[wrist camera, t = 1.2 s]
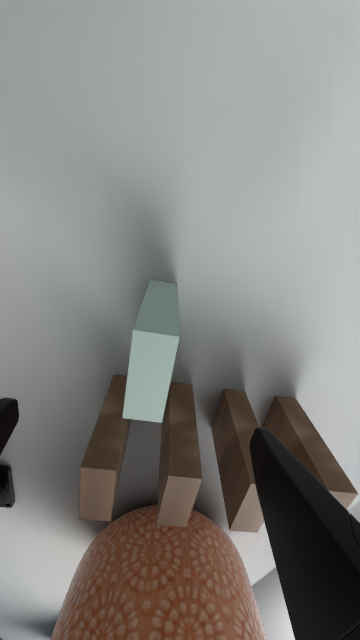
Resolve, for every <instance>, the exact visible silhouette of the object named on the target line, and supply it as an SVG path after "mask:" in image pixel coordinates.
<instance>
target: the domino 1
mask: <svg viewBox="0 0 360 640" xmlns="http://www.w3.org/2000/svg"><path fill="white" fill-rule="evenodd" d="M126 384H127V376H121V375H114V376H113V379H112V381H111V384H110V387H109V390H108V393H107V395H106V398H105V401H104V404H103V406H102V409H101V412H100V415H99V417H98V420H97V423H96V426H95V428H94V431H93V434H92V437H91V440H90V442H89V445H88V448H87V451H86V453H85V456H84V459H83V462H82V464H81V467H80V499H79V519H84V520H97V521H111V516H112V512H113V507H114V502H115V497H116V492H117V487H118V482H119V477H120V472H121V467H122V462H123V457H124V452H125V447H126V442H127V437H128V432H129V427H130V422H131V419H125V418H122V417H123V409H124V400H125V392H126Z"/></svg>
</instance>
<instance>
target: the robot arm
mask: <svg viewBox="0 0 360 640" xmlns="http://www.w3.org/2000/svg"><path fill="white" fill-rule="evenodd" d="M18 419H19V410H18V402H17V400H16V399H14V398H2V399H0V455H1V453H2V451H3V449H4V447H5V445H6V443H7V441H8V439H9V438H10V436H11V434H12V432H13V430H14V428H15V426H16V424H17V422H18ZM249 448H250V454H251V461H252V467H253V473H254V479H255V485H256V490H257V494H258V498H259V502H260V506H261V510H262V514H263V518H264V522H265V525H266V529H267V533H268V537H269V541H270V545H271V548H272V552H273V556H274V560H275V564H276V568H277V571H278V575H279V579H280V583H281V586H282V591H283V594H284V598H285V602H286V606H287V609H288V614H289V617H290V621H291V625H292V629H293V633H294V637H295V640H360V523H359V522H358V521H357V520H356V519H355V518H354V517H353V516H352V515H351V514H349V512H348V511H347V509H346V508H345V507H344V506H343V505H342V504H341V503H340V502H339V501H338V500H337V499H336V498H335V497H334V496H333V495H332V494H331V493H330V492H329V491H328V490H327V489H326V488H325V487H324V486H323V485H322V484H321V483H320V482H319V481H318V480H317V479H316V478H315V477H314V476H313V475H312V474H311V473H310V472H309V471H308V470H307V469H306V468H305V467H304V466H303V465H302V464H301V463H300V462H299V461H298V460H297V458H296V457H295V456H294V455H293V454H292V453H291V452H290V451H289V450H288V449H287V448H286V447H285V446H284V445H283V444H282V443H281V442H280V441H279V440H278V439H277V438H276V437H275V436H274V435H273V434H272V433H271V432H270V431H269V430H268V429H267V428H261V427H257V428H255V430H254V433H253V435H252V437H251V440H250V443H249ZM14 503H15V500H14V493H13V486H12V479H11V472H10V468H9V467H6V466H0V507H6V508H10V507H12V506H13V504H14Z"/></svg>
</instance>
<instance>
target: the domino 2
mask: <svg viewBox="0 0 360 640" xmlns="http://www.w3.org/2000/svg"><path fill="white" fill-rule="evenodd" d="M179 337H180V335H179V315H178V294H177V284H176V283H170V282H164V281H158V280H152V279H150V282H149V285H148V287H147V290H146V293H145V296H144V299H143V302H142V305H141V308H140V311H139V314H138V316H137V319H136V322H135V325H134V328H133V333H132V341H131V350H130V358H129V367H128V375H127V384H126V392H125V400H124V409H123V417H122V418H125V419H134V420H142V421H151V422H159V423H162V420H163V415H164V410H165V405H166V400H167V396H168V391H169V386H170V381H171V376H172V371H173V366H174V362H175V357H176V352H177V347H178V342H179Z"/></svg>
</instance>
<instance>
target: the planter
mask: <svg viewBox="0 0 360 640" xmlns="http://www.w3.org/2000/svg"><path fill="white" fill-rule="evenodd" d="M156 521H157V505H150V506H145V507H141V508H138V509H135V510H132V511H130V512H128V513H126V514H124V515H122V516H121V517H119V518H117V519H116V520H115V521H113V522H112V523H111V524H109V525H108V526H107V527H106V528H105V529H104V530H102V531H101V532H100V533H99V535H98V536H97V537H96V538H95V539H94V540H93V542H92V543H91V544H90V546H89V547H88V549H87V550H86V552H85V553H84V555H83V557H82V559H81V561H80V563H79V565H78V567H77V570H76V572H75V574H74V577H73V579H72V582H71V584H70V587H69V589H68V592H67V594H66V597H65V599H64V602H63V605H62V608H61V610H60V613H59V616H58V619H57V622H56V624H55V627H54V630H53V633H52V636H51V639H50V640H267V639H266V635H265V632H264V628H263V624H262V621H261V617H260V614H259V610H258V607H257V603H256V600H255V597H254V594H253V590H252V587H251V584H250V581H249V578H248V575H247V572H246V569H245V566H244V564H243V561H242V559H241V557H240V555H239V552H238V551H237V549H236V547H235V545H234V544H233V542H232V541H231V539H230V538H229V537H228V535H227V534H226V533H225V532H224V531H223V530H222V529H221V528H220V527H219V526H218V525H217V524H216V523H214V522H213V521H212V520H211V519H209V518H208V517H206V516H205V515H203V514H201V513H199V512H197V511H195V510H193V509H192V511H191V514H190V517H189V520H188V523H187V526H186V527H177V526H164V525H156Z"/></svg>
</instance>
